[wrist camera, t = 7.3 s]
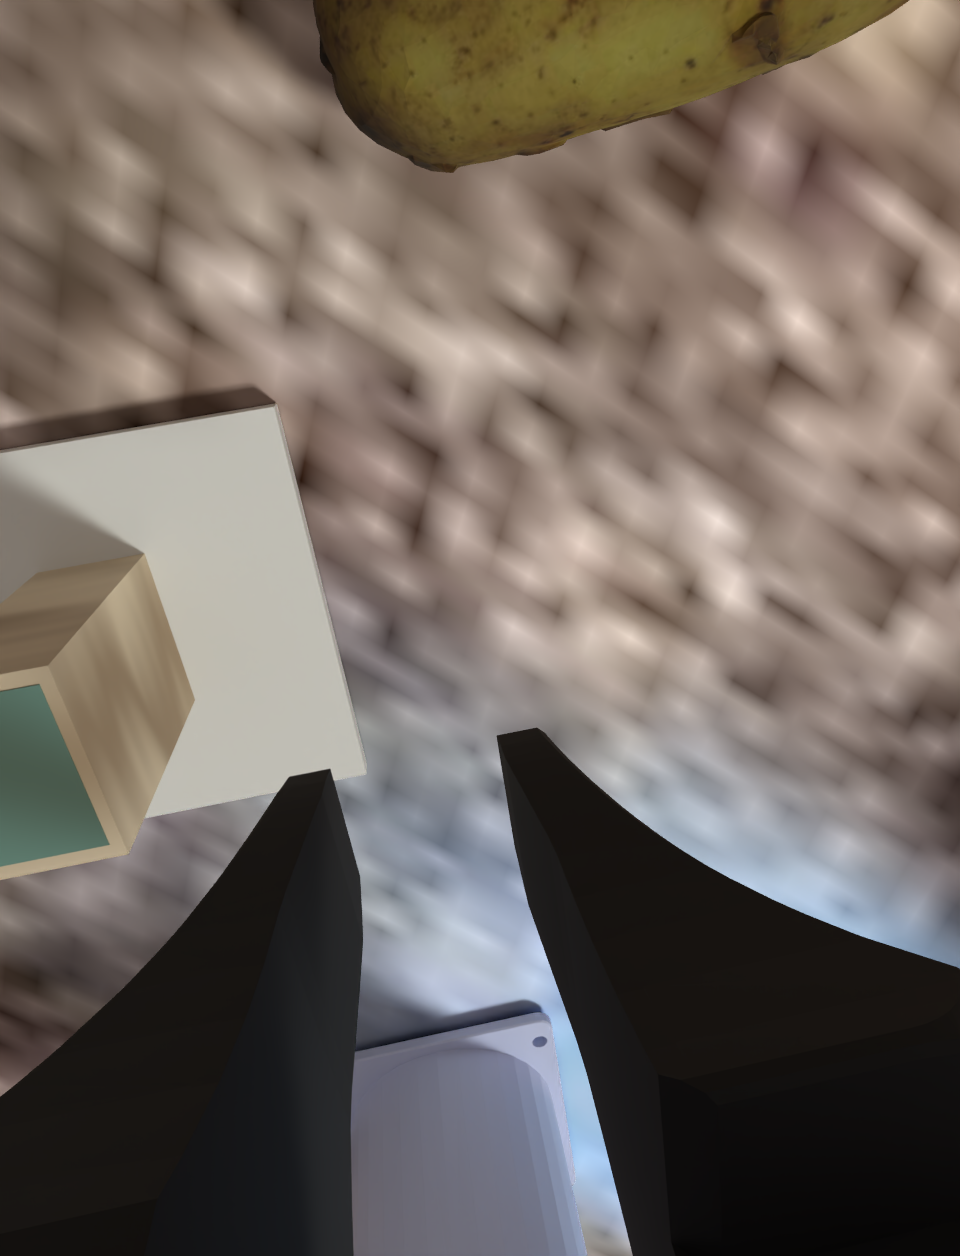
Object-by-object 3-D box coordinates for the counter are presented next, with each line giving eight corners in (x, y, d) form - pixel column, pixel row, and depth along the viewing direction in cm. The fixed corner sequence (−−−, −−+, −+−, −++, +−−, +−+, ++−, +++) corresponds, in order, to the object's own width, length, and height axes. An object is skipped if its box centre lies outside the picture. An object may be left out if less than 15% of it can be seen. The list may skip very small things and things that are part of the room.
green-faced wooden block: (195, 699, 20) (128, 855, 14) (96, 718, 20) (-9, 882, 14) (144, 553, 18) (47, 665, 13) (37, 572, 18) (-108, 695, 13)
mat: (366, 762, 22) (366, 774, 21) (-140, 862, 21) (-154, 877, 21) (276, 402, 18) (273, 406, 17) (-356, 510, 17) (-380, 517, 17)
